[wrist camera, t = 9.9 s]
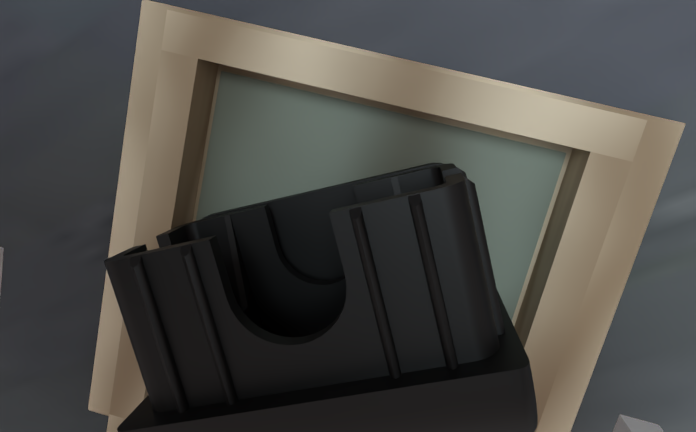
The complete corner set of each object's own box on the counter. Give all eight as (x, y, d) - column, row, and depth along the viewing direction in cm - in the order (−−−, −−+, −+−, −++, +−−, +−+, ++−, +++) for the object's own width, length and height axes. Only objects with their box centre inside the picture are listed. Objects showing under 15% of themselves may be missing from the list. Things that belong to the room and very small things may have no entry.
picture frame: (99, 399, 22) (59, 435, 19) (154, 3, 18) (113, -14, 16) (524, 525, 20) (539, 582, 18) (672, 123, 17) (716, 124, 14)
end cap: (239, 397, 20) (149, 541, 13) (185, 219, 18) (57, 277, 12) (505, 354, 18) (557, 494, 11) (464, 154, 17) (494, 181, 10)
